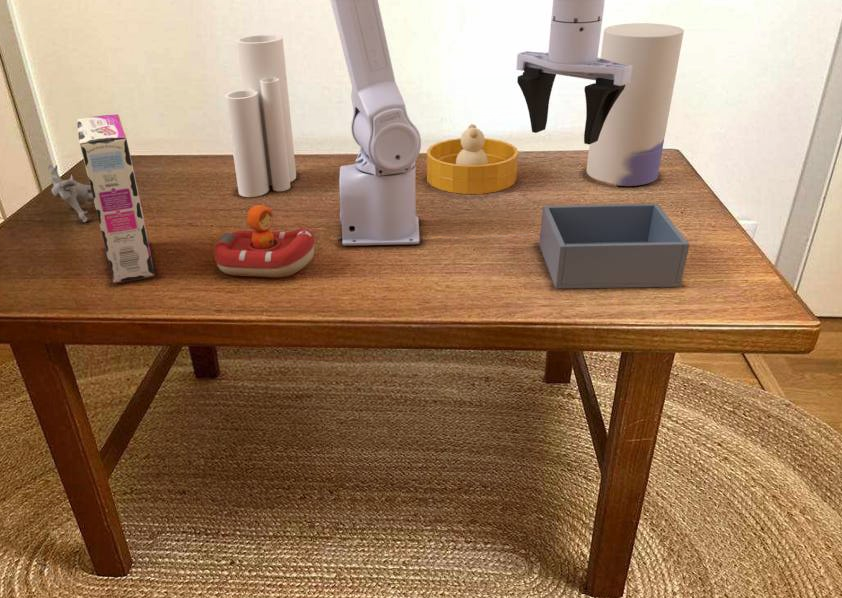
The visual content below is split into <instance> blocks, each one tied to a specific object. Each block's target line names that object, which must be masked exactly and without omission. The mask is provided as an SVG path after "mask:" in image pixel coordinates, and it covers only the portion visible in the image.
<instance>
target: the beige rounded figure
mask: <svg viewBox="0 0 842 598" xmlns="http://www.w3.org/2000/svg"><path fill="white" fill-rule="evenodd" d="M460 138H461V145H462V147H463V150H462V151H461V152H460V153H459V154H458V156H457V158H456V164H458V165H486V164H488V159H487V156H486V154H485V152H484V151H483V150H482V149H481V148H482V147H483V145H484V141H485V138H486V137H485V134H484V133H483V131H482V130H481V129H480V128H477V126H476V124H474V123H473V124H472V123H471V124H469V125H468V127H467V129H466V130H464V131H463V132H462V133H461V137H460Z"/></svg>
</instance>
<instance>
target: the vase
mask: <svg viewBox="0 0 842 598" xmlns="http://www.w3.org/2000/svg"><path fill="white" fill-rule="evenodd" d="M234 44H235V52H236V61H237V67H238V75H239V84H240V89H238V90H233V91H230V92H228V93H226V94H224V101H225V108H226V114H227V121H228V122H227V123H228V128H229V135H230V143H231V149H232V155H233V164H234V168H235V169H234V170H235V177H236V184H237V191H238V195H239V196H240V197H245V198H255V197H260V196H263V195H266V194H267V193H269V191H270V189H271V188H270V186H271V187H272V190H273V191H274V192H285V191H288V190H290V189H291V182H293V181H295V180H296V178H297V169H296V160H295V149H294V140H293V128H292V119H291V110H290V109H291V108H290V100H289V99H290V98H289V97H290V96H289V89H288V88H289V87H288V77H287V69H286V56H285V48H284V47H285V46H284V38H283V36H281V35H277V34H255V35H248V36H242V37H238V38H236V39H234Z"/></svg>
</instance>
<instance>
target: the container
mask: <svg viewBox="0 0 842 598" xmlns="http://www.w3.org/2000/svg"><path fill="white" fill-rule="evenodd" d="M684 33H685V30H684V29H683V28H682V27H680V26H676V25H671V24H664V23H652V22H651V23H650V22H648V23H647V22H639V23H637V22H632V23H621V24H614V25H610V26H607V27H605V28H604V29H603V35H602V41H601V51H600V56H599V58H602V59H605V60H609V61H613V62H617V63H621V64H626V65H632V73H631V79H630V83H628V84H625V88H624V90H623V91H622V93H621V94H620V95H619V97H618V98H617V100H616V101H615V103H614V105H613V106H612V108H611V110H610V112H609V114H608V116H607V118H606V120H605V122H604V125H603V127H602V130H601V132H600V135H599V138H598V141H596V142H594V143H592V144H588V145H589V146H588V147H589V148H588V154H587V161H586V162H587V163H586V169H585V171H586V174H587V175H588V176H589V177H591V178H592V179H595V180H597V181H600V182H603V183H609V184H615V185H616V186H618V187H622V186H623V187H633V186H634V187H635V186H636V187H637V186H644V185H647V184H650V183H652V182H655V181H656V180H657V179H658V176H659V172H660V171H659V170H660V166H661V159H662V155H663V150H664V143H665V137H666V132H667V128H668V127H667V126H668V122H669V116H670V111H671V105H672V99H673V93H674V87H675V83H676V77H677V76H676V75H677V71H678V66H679V60H680V54H681V49H682V45H683V44H682V43H683V39H684Z"/></svg>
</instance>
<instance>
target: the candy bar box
mask: <svg viewBox="0 0 842 598" xmlns="http://www.w3.org/2000/svg"><path fill="white" fill-rule="evenodd" d="M76 123H77V135H78V143H79V146H80V150H81V155H82V158H83V162H84V167H85V171H86V174H87V179H88V183H89V185H90V187H91V191H92V195H93V199H94V201H93V202H94V203H93V204H94V207H95V212H96V215H97V219H98V223H99V227H100V228H99V229H100V232H101V236H102V240H103V243H104V248H105V253H106V257H107V261H108V264H109V268H110V273H111V277H112V283H113V284H118V283H125V282H132V281H137V280H138V281H139V280H143V279H148V278H152V277H155V275H156V274H155V270H154V265H153V258H152V253H151V249H150V243H149V238H148V234H147V233H148V232H147V228H146V223H145V219H144V213H143V207H142V204H141V199H140V198H141V197H140V194H139V189H138V185H137V180H136V174H135V171H134V165H133V161H132V157H131V152H130V147H129V143H128V138H127V136H126V132H125V131H124V127H123V124H122V121H121V117H120V115H119V114H105V115H95V116H89V117H81V118H77V119H76Z"/></svg>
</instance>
